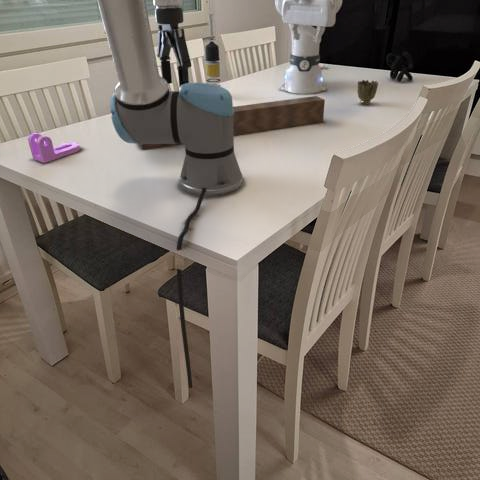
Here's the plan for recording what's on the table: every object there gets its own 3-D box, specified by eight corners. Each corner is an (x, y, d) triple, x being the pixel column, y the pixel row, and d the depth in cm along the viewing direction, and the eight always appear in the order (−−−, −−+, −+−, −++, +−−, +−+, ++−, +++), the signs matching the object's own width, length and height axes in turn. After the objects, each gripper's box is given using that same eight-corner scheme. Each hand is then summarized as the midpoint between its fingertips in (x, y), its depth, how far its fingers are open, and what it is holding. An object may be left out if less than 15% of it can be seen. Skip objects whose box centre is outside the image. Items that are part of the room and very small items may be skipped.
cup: (352, 105, 167) (355, 83, 163) (357, 100, 172) (360, 79, 168) (372, 107, 164) (375, 85, 160) (377, 102, 169) (380, 80, 165)
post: (142, 149, 131) (138, 124, 127) (138, 143, 136) (135, 119, 132) (323, 122, 151) (324, 99, 147) (314, 117, 155) (316, 95, 151)
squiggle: (400, 92, 202) (376, 71, 205) (417, 76, 202) (392, 56, 205) (405, 81, 191) (380, 59, 194) (423, 64, 191) (397, 42, 194)
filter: (222, 96, 181) (219, 14, 165) (209, 97, 179) (205, 14, 164) (218, 93, 186) (215, 12, 170) (205, 94, 184) (200, 13, 168)
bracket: (44, 163, 123) (37, 138, 119) (33, 158, 126) (26, 134, 122) (83, 149, 132) (78, 126, 128) (72, 145, 135) (67, 122, 131)
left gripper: (200, 9, 113) (205, 95, 124) (165, 3, 131) (172, 78, 142) (172, 11, 110) (180, 98, 121) (140, 5, 128) (149, 81, 139)
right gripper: (343, -10, 128) (338, 43, 135) (294, -10, 142) (292, 38, 149) (327, -9, 124) (323, 44, 131) (279, -10, 139) (277, 39, 146)
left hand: (175, 88), depth 132 cm, fingers open, 13 cm apart
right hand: (306, 41), depth 140 cm, fingers open, 8 cm apart
